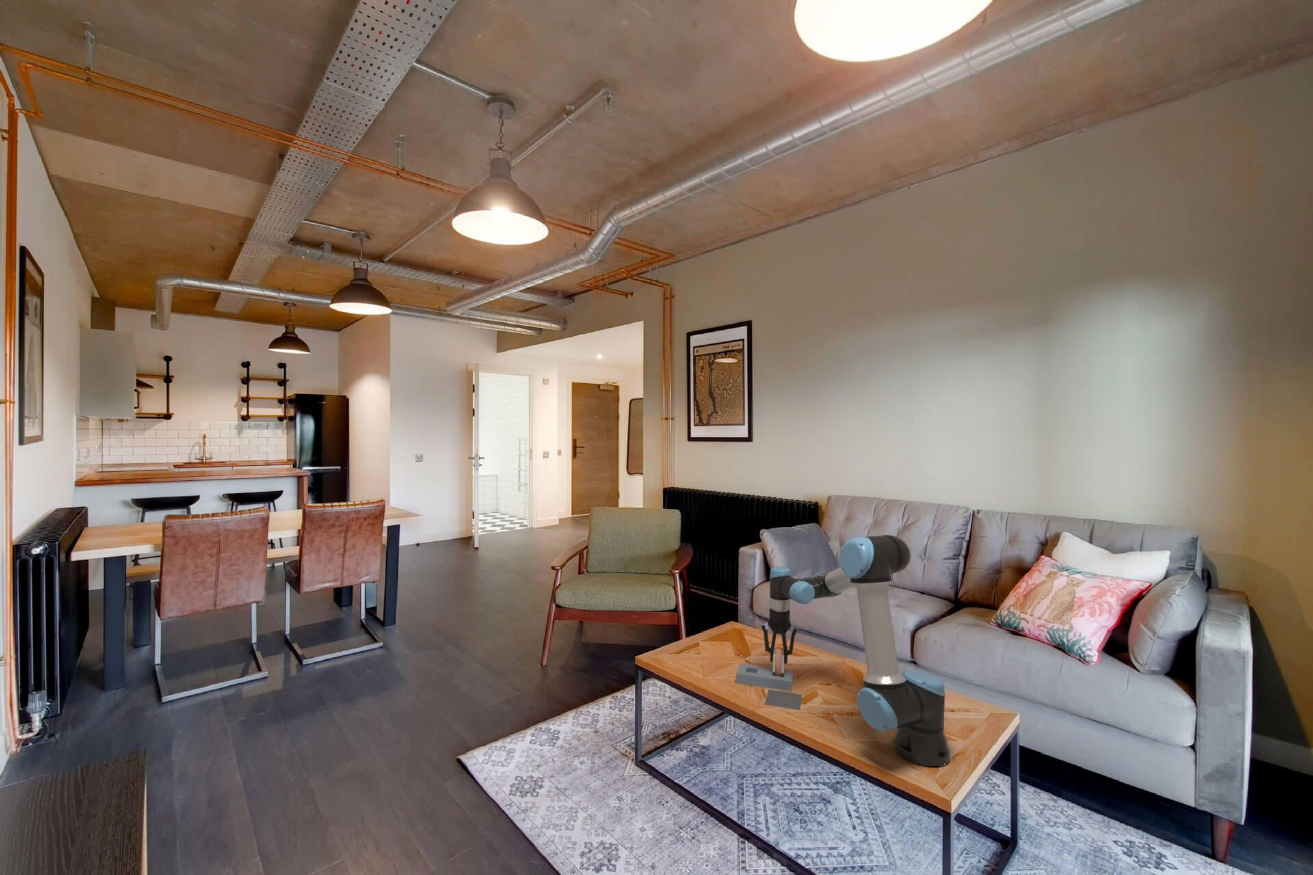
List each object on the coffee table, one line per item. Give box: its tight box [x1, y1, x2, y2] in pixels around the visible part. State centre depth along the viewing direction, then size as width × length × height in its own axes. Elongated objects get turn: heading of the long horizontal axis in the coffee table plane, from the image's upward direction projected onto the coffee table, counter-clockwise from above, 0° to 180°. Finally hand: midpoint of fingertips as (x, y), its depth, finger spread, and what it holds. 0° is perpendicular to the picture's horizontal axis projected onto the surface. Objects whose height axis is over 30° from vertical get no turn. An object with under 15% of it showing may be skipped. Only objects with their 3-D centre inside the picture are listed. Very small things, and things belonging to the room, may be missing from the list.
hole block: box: [735, 662, 794, 693], centre depth 213 cm, size 10×20×4 cm, turn 72°
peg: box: [774, 646, 784, 677], centre depth 211 cm, size 3×3×12 cm
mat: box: [764, 688, 803, 711], centre depth 199 cm, size 12×12×1 cm
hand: (778, 670), depth 211 cm, fingers closed on peg, 2 cm apart
